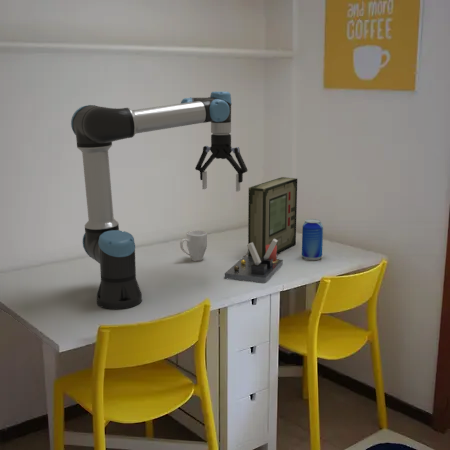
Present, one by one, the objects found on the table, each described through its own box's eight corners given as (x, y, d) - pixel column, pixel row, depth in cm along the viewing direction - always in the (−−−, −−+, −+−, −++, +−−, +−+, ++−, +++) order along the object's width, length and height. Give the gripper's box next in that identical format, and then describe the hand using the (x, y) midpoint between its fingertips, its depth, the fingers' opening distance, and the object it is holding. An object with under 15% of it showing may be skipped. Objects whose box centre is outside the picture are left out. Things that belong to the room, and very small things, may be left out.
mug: (199, 255, 265) (199, 229, 263) (211, 260, 259) (210, 233, 256) (175, 260, 258) (175, 233, 256) (186, 265, 252) (186, 238, 249)
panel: (265, 283, 231) (265, 270, 230) (224, 278, 236) (224, 265, 235) (282, 264, 253) (282, 252, 252) (244, 260, 258) (245, 248, 257)
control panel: (264, 261, 257) (265, 189, 250) (248, 258, 261) (248, 187, 254) (295, 244, 282) (297, 178, 275) (280, 242, 286) (281, 177, 278)
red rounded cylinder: (274, 262, 248) (275, 247, 247) (264, 261, 250) (264, 246, 248) (277, 259, 252) (278, 244, 251) (267, 258, 254) (267, 243, 252)
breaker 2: (266, 260, 241) (276, 242, 238) (262, 258, 242) (272, 240, 239) (268, 258, 244) (278, 240, 241) (264, 256, 244) (274, 238, 241)
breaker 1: (259, 264, 234) (250, 243, 233) (255, 266, 235) (246, 245, 234) (261, 262, 237) (252, 242, 236) (258, 263, 237) (249, 243, 237)
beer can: (300, 260, 259) (301, 222, 255) (302, 254, 266) (303, 217, 263) (321, 261, 257) (322, 223, 253) (322, 255, 265) (324, 218, 261)
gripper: (256, 133, 234) (255, 190, 239) (194, 131, 242) (194, 186, 247) (249, 135, 227) (249, 193, 232) (186, 133, 235) (187, 189, 240)
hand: (221, 189), depth 239 cm, fingers open, 13 cm apart
